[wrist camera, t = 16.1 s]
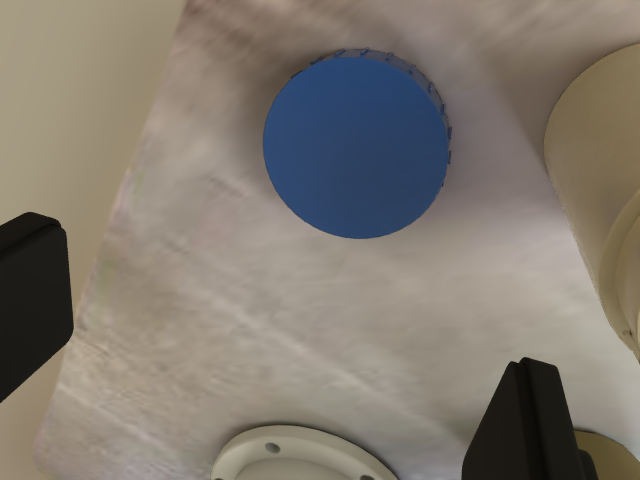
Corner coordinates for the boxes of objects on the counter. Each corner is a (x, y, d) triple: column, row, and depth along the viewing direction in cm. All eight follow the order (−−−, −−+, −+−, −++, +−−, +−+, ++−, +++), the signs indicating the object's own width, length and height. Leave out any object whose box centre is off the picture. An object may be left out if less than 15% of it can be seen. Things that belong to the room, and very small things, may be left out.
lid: (353, 4, 18) (342, 7, 16) (491, 138, 19) (494, 155, 17) (245, 142, 21) (227, 156, 20) (366, 249, 22) (358, 271, 21)
